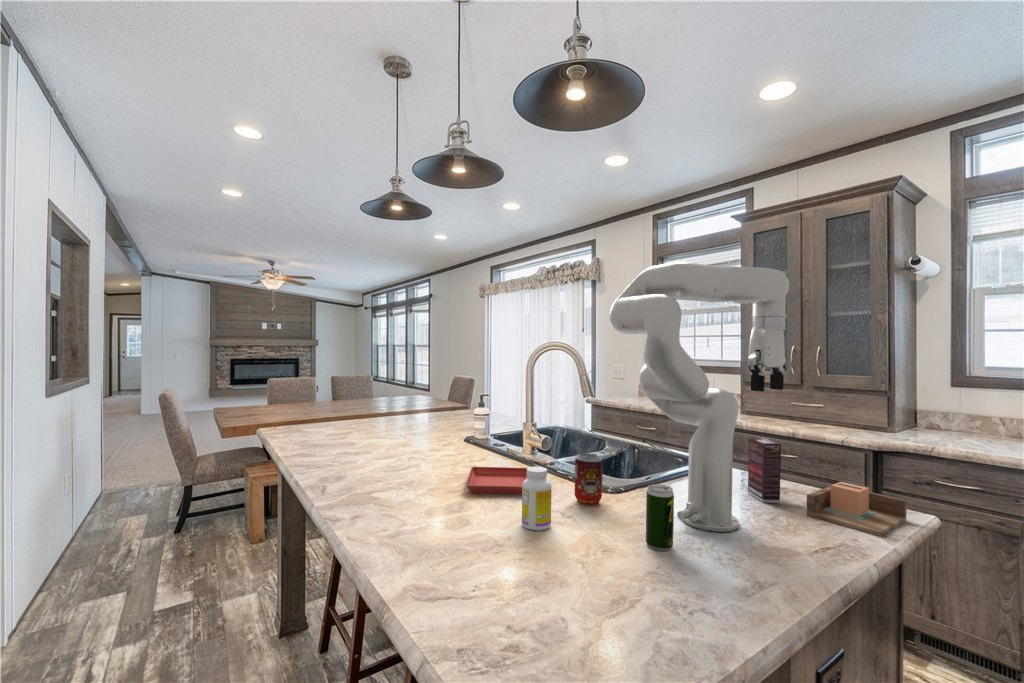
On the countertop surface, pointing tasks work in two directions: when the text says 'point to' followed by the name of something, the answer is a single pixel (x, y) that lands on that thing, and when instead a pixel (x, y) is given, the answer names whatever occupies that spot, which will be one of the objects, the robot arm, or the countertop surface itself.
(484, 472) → the plant saucer
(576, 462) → the soda can
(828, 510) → the corner board
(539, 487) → the supplement bottle
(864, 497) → the brown box
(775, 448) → the supplement box
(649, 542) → the beer can
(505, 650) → the countertop surface
